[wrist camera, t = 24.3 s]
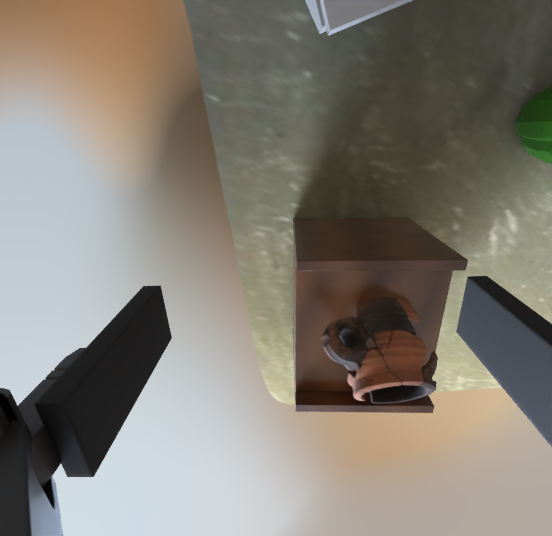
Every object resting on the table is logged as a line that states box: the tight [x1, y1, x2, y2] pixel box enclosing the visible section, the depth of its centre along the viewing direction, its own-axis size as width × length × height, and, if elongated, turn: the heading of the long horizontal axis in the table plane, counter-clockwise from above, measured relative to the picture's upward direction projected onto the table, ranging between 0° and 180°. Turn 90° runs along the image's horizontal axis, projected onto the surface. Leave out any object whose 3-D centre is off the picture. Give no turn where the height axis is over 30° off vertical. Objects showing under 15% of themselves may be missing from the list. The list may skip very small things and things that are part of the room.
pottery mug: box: [322, 297, 438, 404], centre depth 31 cm, size 12×10×8 cm
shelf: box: [293, 218, 468, 413], centre depth 39 cm, size 15×18×15 cm
